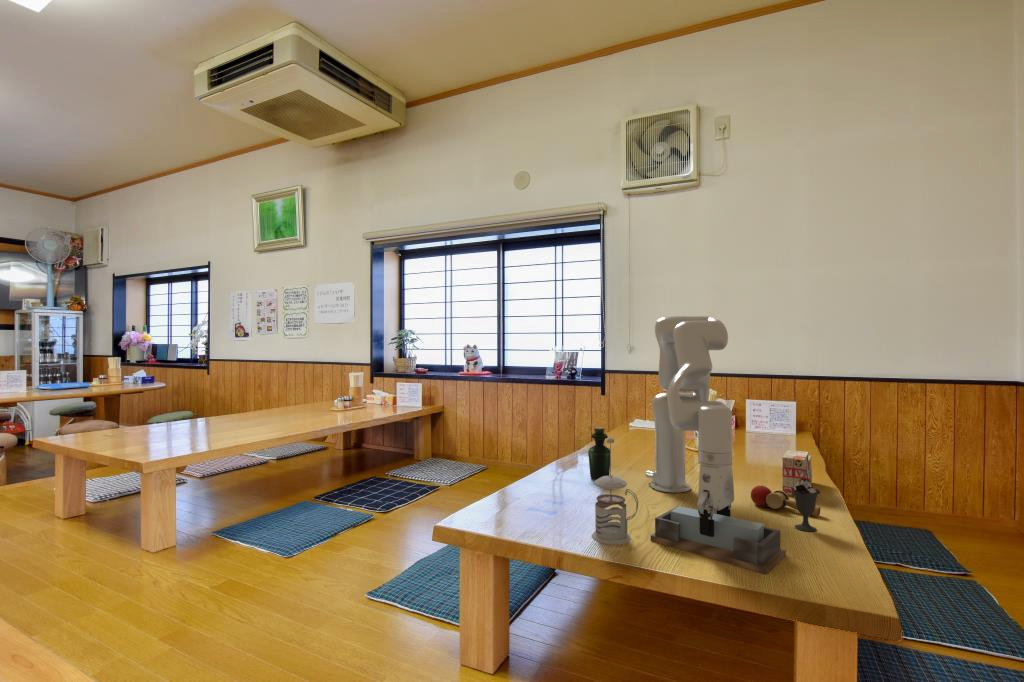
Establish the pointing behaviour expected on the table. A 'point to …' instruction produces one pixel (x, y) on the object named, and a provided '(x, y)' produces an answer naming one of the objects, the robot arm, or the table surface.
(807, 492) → the sundae
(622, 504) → the french press
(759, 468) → the table surface
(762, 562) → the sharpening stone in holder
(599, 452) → the potion bottle
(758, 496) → the kendama
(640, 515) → the table surface
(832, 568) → the table surface
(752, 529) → the grey rectangular block
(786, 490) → the stack of blocks
